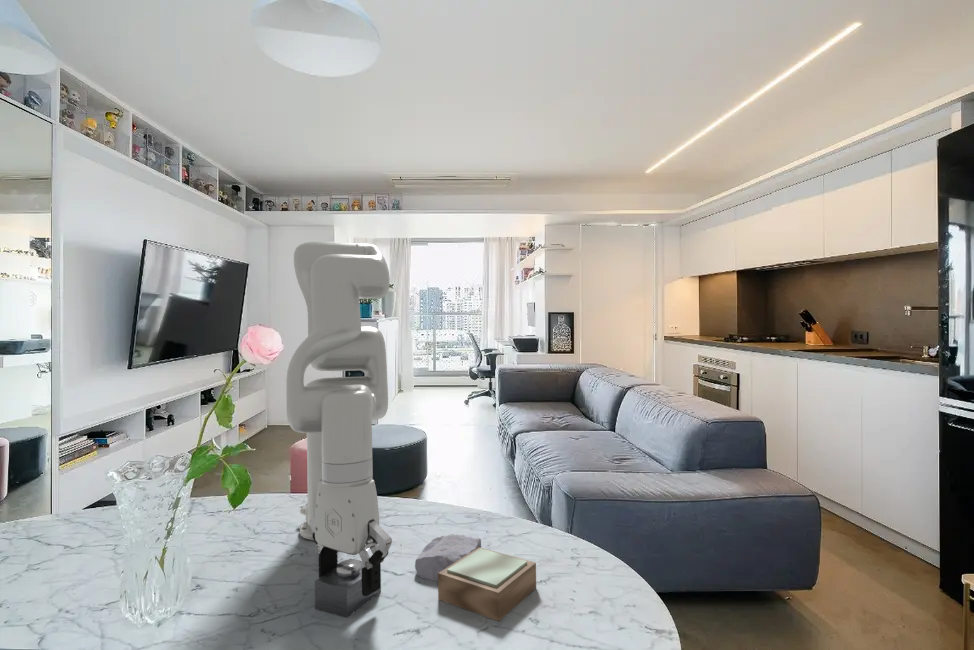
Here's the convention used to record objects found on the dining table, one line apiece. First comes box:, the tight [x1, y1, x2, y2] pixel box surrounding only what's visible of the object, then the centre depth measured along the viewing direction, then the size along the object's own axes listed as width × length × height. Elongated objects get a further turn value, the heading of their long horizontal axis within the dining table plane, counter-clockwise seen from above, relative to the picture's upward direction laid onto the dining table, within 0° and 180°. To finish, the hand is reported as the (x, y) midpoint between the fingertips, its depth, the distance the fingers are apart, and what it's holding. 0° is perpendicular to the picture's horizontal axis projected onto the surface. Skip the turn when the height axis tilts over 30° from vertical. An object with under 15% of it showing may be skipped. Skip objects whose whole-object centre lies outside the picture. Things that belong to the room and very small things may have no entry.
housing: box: [314, 558, 382, 619], centre depth 78 cm, size 6×8×6 cm
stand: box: [437, 547, 537, 622], centre depth 79 cm, size 11×11×4 cm
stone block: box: [414, 533, 482, 581], centre depth 90 cm, size 12×5×10 cm
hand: (349, 583), depth 77 cm, fingers open, 9 cm apart
